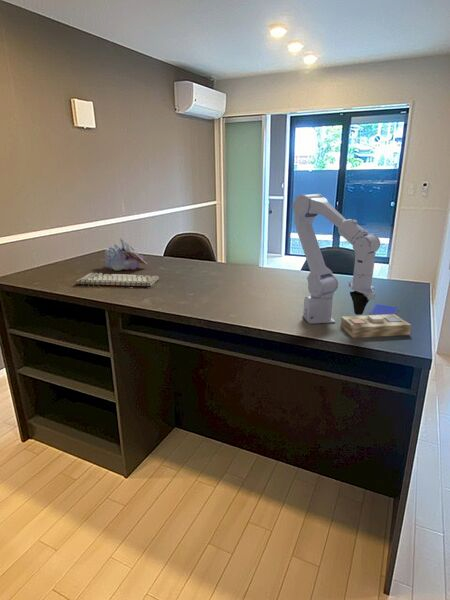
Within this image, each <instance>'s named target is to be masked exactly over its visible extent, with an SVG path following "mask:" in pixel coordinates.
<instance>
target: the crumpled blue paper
mask: <svg viewBox="0 0 450 600" xmlns="http://www.w3.org/2000/svg"><path fill="white" fill-rule="evenodd" d="M119 239H120V244H121V245H119V243H117V242H116V243H114V245H113V246H114V247H112V246H109V247H108V249H106V250H104V258H105V261H104V264H105V266H106V268H108V270H111V271H113V270H114V271H116V272H119V271H122V270H125V271H127V270H128V271H129V270H132V271H135V270H136V269H137V268H139V267H140V264H143V265H145V266H148V264H147V261H145V260H144V259H143V258H144V257H143V256H144V255H141V254H140V253H139V252H138V251H135V249H134V248H133V247H132V246H130V244H128V243H127V242H126V241H125V240H124V239H123V238H122V237H120V238H119ZM112 269H113V270H112Z"/></svg>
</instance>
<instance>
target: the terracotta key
mask: <svg viewBox="0 0 450 600" xmlns="http://www.w3.org/2000/svg"><path fill="white" fill-rule="evenodd" d="M350 321H351V322H352V323H354V324H366V323H365V322H364V321H363V320H361V319H350Z"/></svg>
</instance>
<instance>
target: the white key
mask: <svg viewBox="0 0 450 600" xmlns="http://www.w3.org/2000/svg"><path fill="white" fill-rule="evenodd" d="M367 320H368V321H370V322H371V323H383V320H384V319H383V318H382V317H380V316H379V315H369V314H368V319H367Z"/></svg>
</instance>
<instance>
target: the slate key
mask: <svg viewBox="0 0 450 600" xmlns="http://www.w3.org/2000/svg"><path fill="white" fill-rule="evenodd" d="M384 319H385V320H387V321H388V322H401V321H400V320H398V319H397V318H395V317H389V318H384Z"/></svg>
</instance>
